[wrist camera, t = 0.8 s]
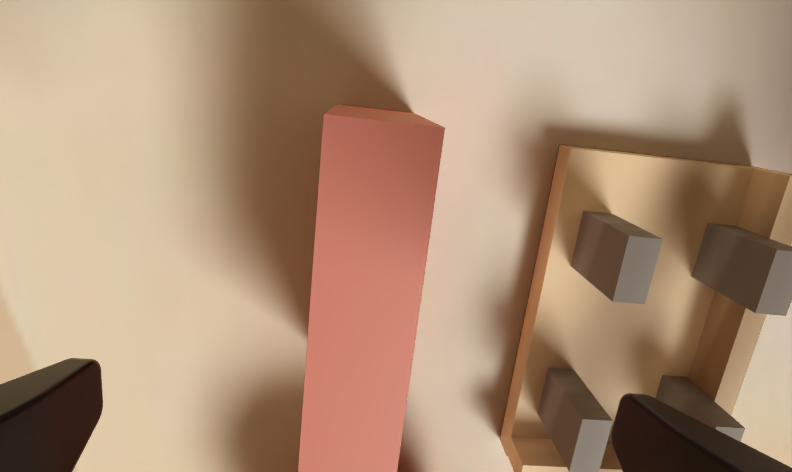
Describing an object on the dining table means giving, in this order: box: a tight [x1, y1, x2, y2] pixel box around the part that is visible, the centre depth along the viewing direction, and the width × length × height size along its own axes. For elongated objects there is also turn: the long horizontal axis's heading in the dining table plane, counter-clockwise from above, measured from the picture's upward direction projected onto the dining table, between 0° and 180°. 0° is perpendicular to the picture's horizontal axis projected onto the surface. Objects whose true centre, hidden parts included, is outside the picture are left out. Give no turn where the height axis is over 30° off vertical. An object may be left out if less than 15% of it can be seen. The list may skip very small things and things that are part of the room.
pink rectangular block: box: [298, 104, 445, 472], centre depth 15 cm, size 9×2×6 cm, turn 174°
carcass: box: [500, 145, 792, 472], centre depth 17 cm, size 7×12×4 cm, turn 174°
